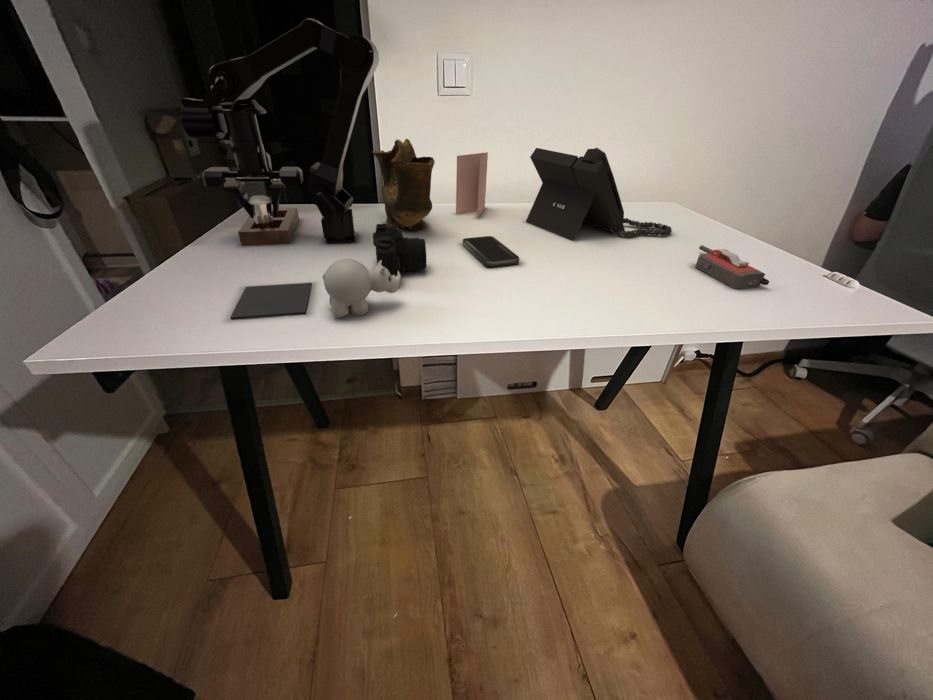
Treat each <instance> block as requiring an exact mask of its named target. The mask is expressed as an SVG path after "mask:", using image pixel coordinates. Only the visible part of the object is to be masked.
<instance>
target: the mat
mask: <svg viewBox="0 0 933 700" xmlns="http://www.w3.org/2000/svg"><path fill="white" fill-rule="evenodd" d="M312 285H313V283H312V282H300V283H299V282H298V283H284V284H268V285H267V284H266V285H250V286H249V285H248V286H245V288H244V290H243V291H242V294H241V295H240V298H239V299H238V301H237V303H236V305H235V307H234V309H233V311H232V313H231V315H230V317H229V318H230V320H240V319H254V318H267V317H268V318H269V317H282V316H293V315H294V316H295V315H306V314H307V310H308V306H309V300H310V296H311V290H312Z"/></svg>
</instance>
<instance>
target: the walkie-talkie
mask: <svg viewBox="0 0 933 700" xmlns="http://www.w3.org/2000/svg"><path fill="white" fill-rule="evenodd" d="M698 248H699V250H701V251H702V252H703V253H701V254H699V255H698V257H697V260H696V263H695V268H697V269H698V270H700V271H702V272H704V273H705V274H707V275H709V276H710V277H712V278H714V279H716V280H717V281H719V282H722V283H723V284H725V285H727V286H728V287H731V288H733V289H735V290H741V289H750V288H758V287H760V286H768V285H769V283H770V280H769V279H767V278H765V276H766V273H765V272H763V271H761V270H758V269H757V268H754V267H753V266H751V265H749V264H750V262H749V261H745V260H742V259H740V256H739V255H738V254H736V253H734V252H731V251H730V250H728V249H725V248H720V249H712V248H709V247H707V246H705V245H699V247H698Z"/></svg>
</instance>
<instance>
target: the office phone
mask: <svg viewBox="0 0 933 700" xmlns="http://www.w3.org/2000/svg"><path fill="white" fill-rule="evenodd" d="M531 153H532V154H531V155H530V157H529V158H530V160H531V162H532V165H533V166H534V168H535V170H536V173H537V175H538V177H539V179H540V180H541V186H540V188H539V189H538V192H537V195H536V196H535V199H534V202H533V204H532V206H531V209H530V211H529V213H528V215H527V217H526V219H525V222H526V223H528V224H531V225H533V226H535V227H538V228H540V229H543V230H546V231H548V232H551V233H553V234H555V235H558V236H560V237H563V238H566V239H568V240H570V241H573V242H574V241H575V238H576V236H577V235H578V232H579V231H580V229H581V226H582V224H583V223H586V224H589V225H591V226H595V227H597V228H600V229H603V230H606V231H608V232H612V234H613V235H614V236H620V237H623V238H630V237H632V238H634V237H638V236H649V235H650V236H659V235H660V236H663V237H664V236H665V235H666V236H669V235H670V234H671V233H672V227H671V226H668V225H667V224H663V223H661V222H658V223H656V222H653V221H649V222H648V221H645V222H644V221H643V222H642V221H641V222H640V221H638V220H634V219H633V220H632V219H629V218H628V217H626V218H625V211H624V207H623V204H622V203H623V202H622V200H621V196H620V193H619V190H618V187H617V182H616V180H615V177H614V173H613V171H612V168H611V166H610V162H609V160H608V157H607V153H606V152H605V151H603V150H601V149H600V148H599V147H595V148H587V150H586V151H585V153H584V155H583V156H582V155H581V156H578V155H575V154H569V153H565V152H559V151H555V150H550V149H545V148H539V147H535V149H534V150H533V151H532V152H531ZM625 224H626V225H627V224H628V226H633V227H635V228H637V229H632V230H627V231H626V230H625V226H624V225H625ZM639 228H640V229H639Z"/></svg>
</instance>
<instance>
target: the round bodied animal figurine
mask: <svg viewBox="0 0 933 700" xmlns="http://www.w3.org/2000/svg"><path fill="white" fill-rule="evenodd" d="M381 263H382V260H380V261H379V262H378V264H377V263H376V265H375V266H372V267H371V268H367V267H366V266H365V265H364V264H363V263H362V262H360V261H358V260H356V259H353V258H341V259H337V260H335V261H333V262H332V263H331V264H330V265H329V266H328V267H327V269H326V271H325V272H324V273H323V274H322V280H323V285H324V288H325V291H326V293H327V295H328V296H329V298H328V299H329V300H328V301H329V305H330V309H331V313H332V315H333V316H334V317H337V318H342V317H345V316H347V315H348V314H349V313H350V311H351V313H352V314H353V315H356V316H362V315H365V314H366V313H368V311H369V305H368V302H367V300H366V299H367V298H368V296H369V294H370V293H371V291H373V292H375V293H382V292H386V293H389V294H393V293H396V292H397V291H398V290H399V288H400V281H401V278H402V276H401V273H399V271H398V274H397V276H396V277H395V275H393V276H391V274H390V273H389V271H388V270H387V269H386V268H385V267H383V266H382V265H381Z"/></svg>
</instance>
